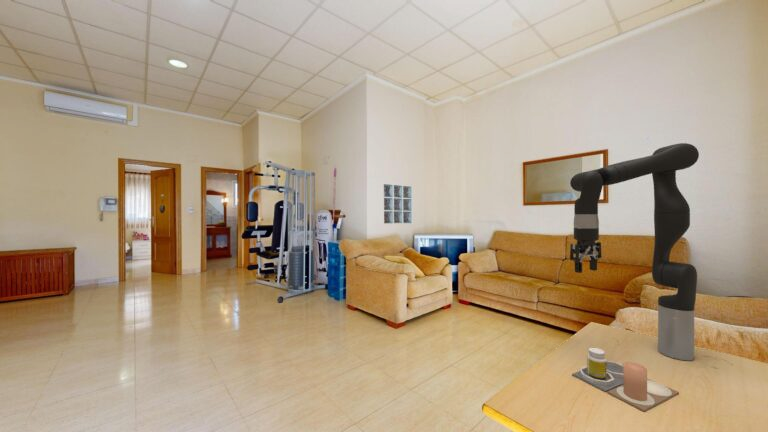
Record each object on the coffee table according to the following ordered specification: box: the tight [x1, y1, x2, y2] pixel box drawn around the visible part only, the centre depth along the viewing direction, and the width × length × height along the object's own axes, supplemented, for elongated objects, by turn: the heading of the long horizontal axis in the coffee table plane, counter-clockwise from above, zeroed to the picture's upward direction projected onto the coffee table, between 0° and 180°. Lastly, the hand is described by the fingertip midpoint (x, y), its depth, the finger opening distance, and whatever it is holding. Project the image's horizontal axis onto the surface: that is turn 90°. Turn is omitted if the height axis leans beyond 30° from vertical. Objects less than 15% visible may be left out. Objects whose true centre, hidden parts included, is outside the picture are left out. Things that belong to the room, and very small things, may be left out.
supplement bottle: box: [586, 347, 607, 381], centre depth 90 cm, size 5×5×8 cm
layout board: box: [571, 360, 680, 413], centre depth 87 cm, size 18×19×9 cm
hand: (586, 271), depth 105 cm, fingers open, 8 cm apart
